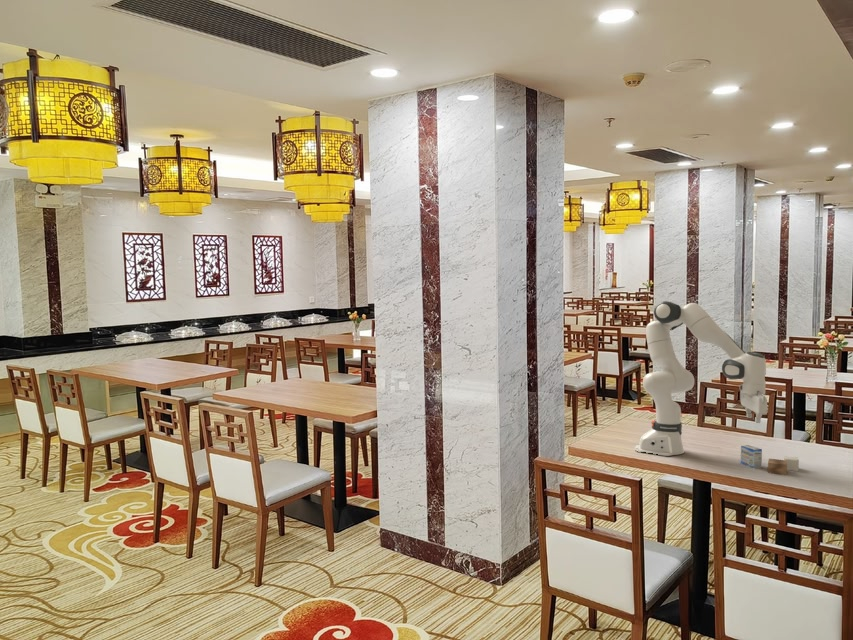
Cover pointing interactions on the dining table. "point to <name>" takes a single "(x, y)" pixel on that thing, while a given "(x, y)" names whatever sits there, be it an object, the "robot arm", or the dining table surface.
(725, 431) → the dining table surface
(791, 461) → the cream block
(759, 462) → the medicine box
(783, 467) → the walnut block
